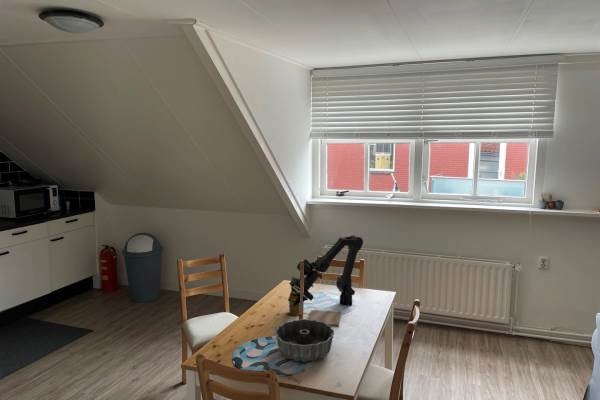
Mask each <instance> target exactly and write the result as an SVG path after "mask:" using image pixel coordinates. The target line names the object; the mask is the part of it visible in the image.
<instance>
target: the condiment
mask: <svg viewBox="0 0 600 400" xmlns="http://www.w3.org/2000/svg"><path fill="white" fill-rule="evenodd" d="M299 292H300V291H299ZM299 292H297V291H293V292H291V291H290V293H289V296H290V298H289V297H288V299H289V301H288V304H289V305H288V308H289V309H288V310H289V311H288V312H285V313H283V316H286V317H287V318H290V319H292V318H293V319H295V318H297V317H299V316H298V315H299V304H297V305H295V306H294V305H293V303H294V302H295V300H296V299H297V297H298V296H299Z"/></svg>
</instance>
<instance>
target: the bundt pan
mask: <svg viewBox="0 0 600 400" xmlns="http://www.w3.org/2000/svg"><path fill="white" fill-rule="evenodd" d="M274 335H275V339H276V343H277V347H278V351H279V353H280V354H281V355H283V356H284V357H285V358H287V359H289V360H293V361H295V362H298V361H300V362H309V361H311V362H315V361H317V360H320V359H322V358H324V357H325V355H326V356H327V355H328V354H329V353H330V351H331V348H332V343H333V339H334V335H335V330H334V328H333V326H329V325H327V324H326V323H324V322H320V321H316V320H308V318H307V319H306V318H304V319H303V318H301V319H292V320H291V321H285V322H283V323H281V325H279V326H278V325H277V327H276V329H275V330H274Z"/></svg>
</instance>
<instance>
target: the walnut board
mask: <svg viewBox="0 0 600 400" xmlns="http://www.w3.org/2000/svg"><path fill="white" fill-rule="evenodd" d="M341 316H342V312H341V311H333V310H318V309H311V310H310V313H309V316H308V318H307V319H308V320H316V321H320V322H324V323H326V324H327V325H329V326H332V328H333V327H335V328H339V325H340V321H341Z"/></svg>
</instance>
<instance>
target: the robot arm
mask: <svg viewBox="0 0 600 400" xmlns="http://www.w3.org/2000/svg"><path fill="white" fill-rule="evenodd" d="M363 244H364V239H363V238H362V237H361V236H357V235H355V234H352V235H350V236H344V237H343V236H342V237H339V238H338V239H337V241H336V242H335V243H334V244H333V245H332V246H331V248H329V250H328V251H327V252H326V253H325V254H324V255H322V256H320V257H318V258H317V259H315V261H314V262H309V260H308V259H306V258H305V259H304V260H302V261H303V262H304V275H303V276H305V277H303V278H304V293H303V302H305V301H310V302H312V300H314V295H313V294H312V293H311V292H310V291H309V290H310V289H311V287H312V288H314V284H315V282H316V281H317V280H318V279H319V278H320V280H322V279H323V274H322V273H326V271H328V269H329V268H330V266H331V262H332V261H333V260H334V258H336V256H337V255H338V254H340V253H341V251H342V250H343V249H344V248H345V246H346V247H347V248H348V252H347V256H346V259H345V264H344V267H343V271H342V275H341V276H338V277H337V280H336V282H335V284H336V289H337V290H338V292H340V295H339V303H340V306H347V307H349V306H351V307H352V306H353V296H354V295H355V294H356V290H354V288H352V285H353V283H352V274H353V270H354V266H355V263H356V259H357V255H358V252H360V251H361V249H362V246H363ZM300 263H301V261H300V262H298V264H297V266H296V269H297V270H298V271H299V272H300ZM300 279H301V277H297V276H292V277H291V280H290V282H289V286H290V293H291V292H293V291H297V292H299V296H298V297H297V299H296V300H295V302H294V303H293V305H294V306H295V305H297V304H299V303H300V293H301V292H300ZM289 298H290V295H289V296H288V299H287V301H288V302H289Z"/></svg>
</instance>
